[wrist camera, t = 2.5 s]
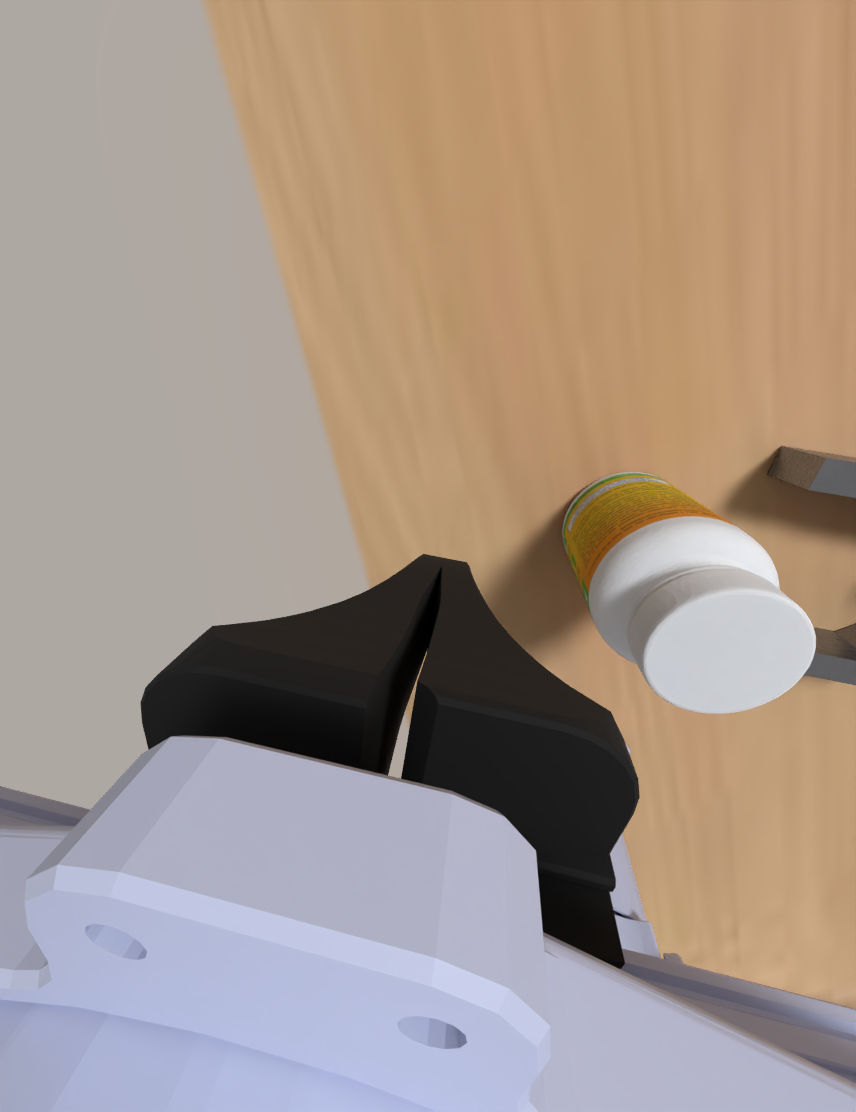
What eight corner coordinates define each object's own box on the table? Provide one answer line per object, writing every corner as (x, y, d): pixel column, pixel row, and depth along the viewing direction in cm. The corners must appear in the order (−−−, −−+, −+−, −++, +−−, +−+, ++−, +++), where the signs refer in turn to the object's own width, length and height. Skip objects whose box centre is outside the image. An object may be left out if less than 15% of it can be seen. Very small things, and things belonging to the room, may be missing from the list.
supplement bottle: (536, 530, 20) (569, 657, 11) (626, 443, 17) (756, 516, 9) (614, 596, 20) (702, 763, 12) (709, 521, 18) (905, 658, 10)
